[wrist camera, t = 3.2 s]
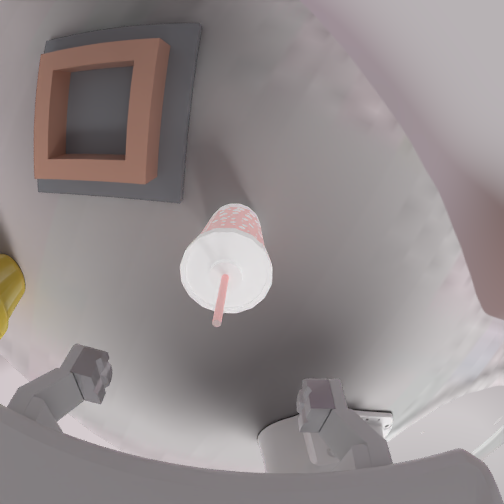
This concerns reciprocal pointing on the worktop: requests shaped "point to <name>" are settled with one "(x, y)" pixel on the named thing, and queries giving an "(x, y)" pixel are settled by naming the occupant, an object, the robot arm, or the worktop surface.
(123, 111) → the cup holder
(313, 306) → the worktop surface
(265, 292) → the beverage cup
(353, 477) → the robot arm
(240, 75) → the worktop surface
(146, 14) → the worktop surface
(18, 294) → the plant pot
